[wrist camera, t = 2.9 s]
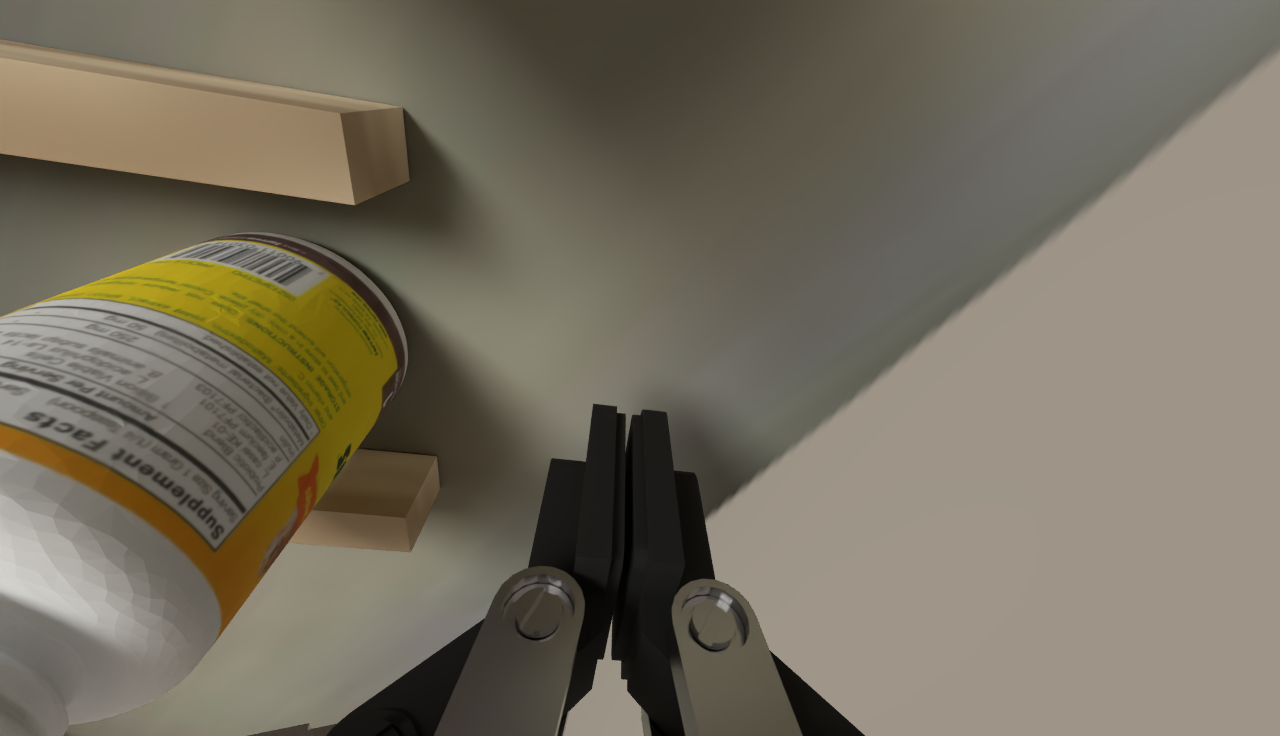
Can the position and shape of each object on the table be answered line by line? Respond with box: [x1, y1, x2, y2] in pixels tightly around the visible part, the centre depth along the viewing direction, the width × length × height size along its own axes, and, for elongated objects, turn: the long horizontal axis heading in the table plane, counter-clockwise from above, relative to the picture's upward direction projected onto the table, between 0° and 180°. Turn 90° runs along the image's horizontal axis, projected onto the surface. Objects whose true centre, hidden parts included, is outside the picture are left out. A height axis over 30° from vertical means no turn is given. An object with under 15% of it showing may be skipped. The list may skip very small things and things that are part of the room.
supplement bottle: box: [0, 232, 408, 736], centre depth 8 cm, size 6×6×10 cm
